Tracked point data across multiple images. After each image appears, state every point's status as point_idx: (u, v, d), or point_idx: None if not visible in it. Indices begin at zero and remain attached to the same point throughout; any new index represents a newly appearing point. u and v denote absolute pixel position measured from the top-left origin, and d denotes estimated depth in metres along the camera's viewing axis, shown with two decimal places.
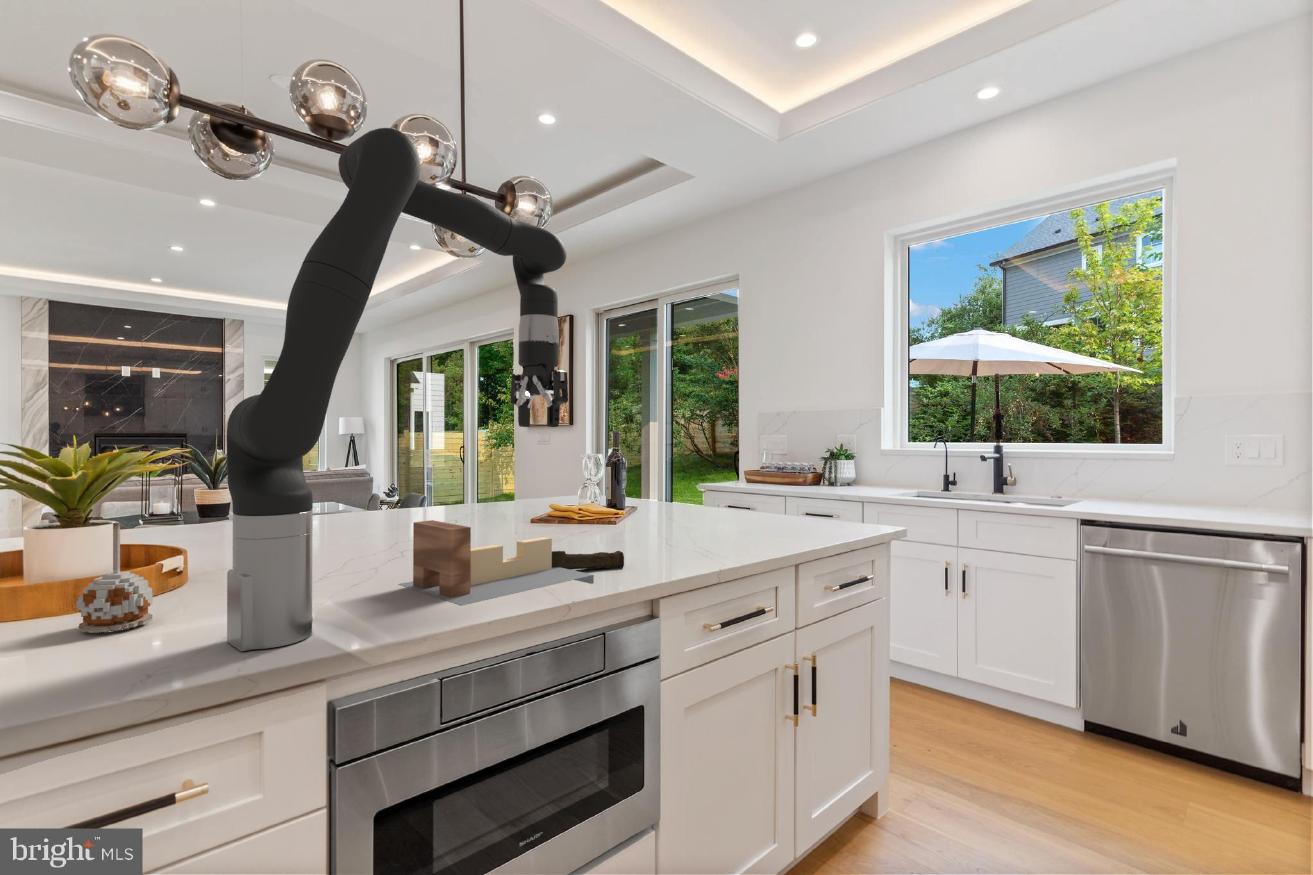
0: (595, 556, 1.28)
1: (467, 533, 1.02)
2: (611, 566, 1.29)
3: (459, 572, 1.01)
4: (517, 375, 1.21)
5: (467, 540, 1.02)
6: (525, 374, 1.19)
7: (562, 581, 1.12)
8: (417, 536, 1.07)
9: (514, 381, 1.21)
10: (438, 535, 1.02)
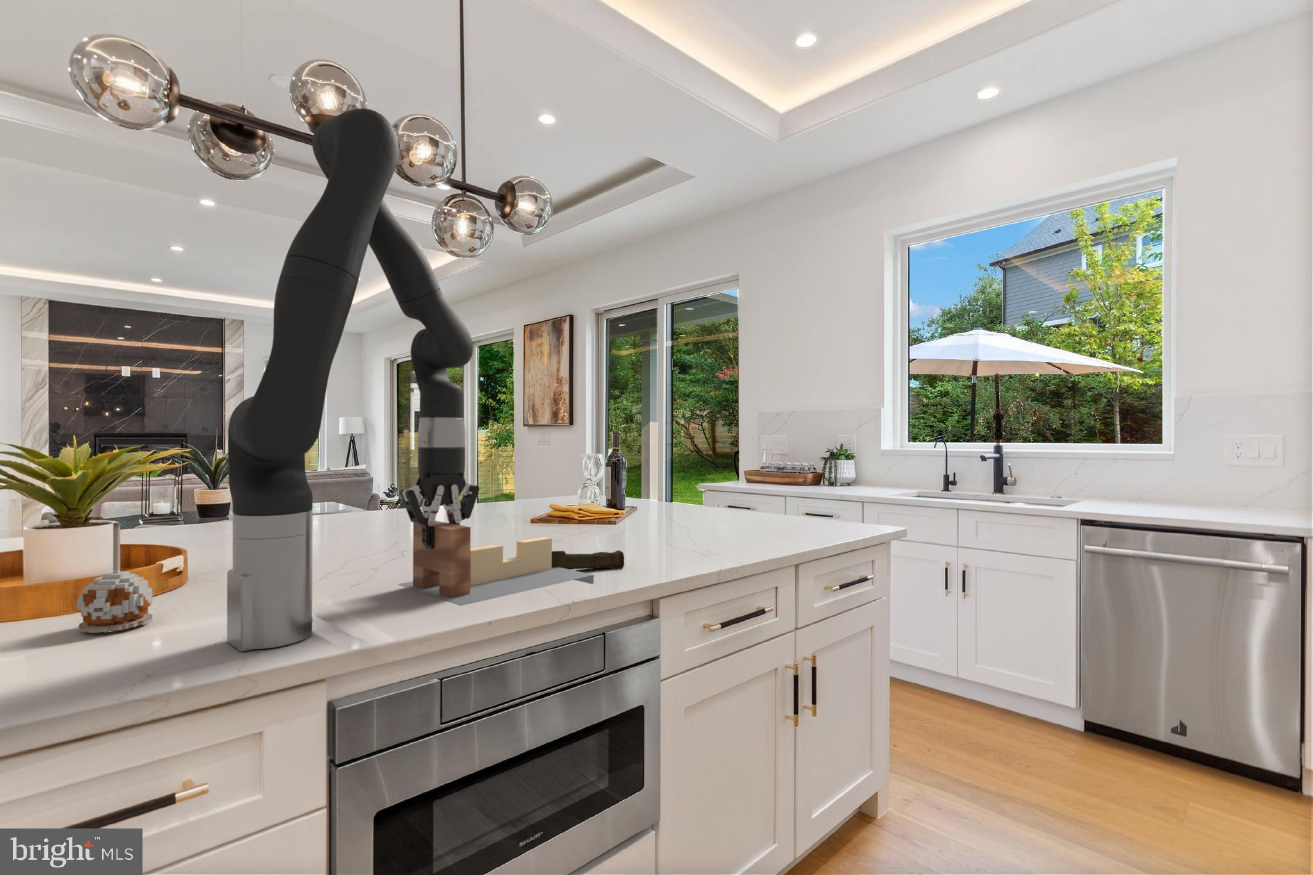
0: (595, 556, 1.28)
1: (467, 533, 1.02)
2: (611, 566, 1.29)
3: (459, 572, 1.01)
4: None
5: (467, 540, 1.02)
6: (429, 481, 1.02)
7: (562, 581, 1.12)
8: (417, 536, 1.07)
9: (415, 497, 1.00)
10: (438, 535, 1.02)
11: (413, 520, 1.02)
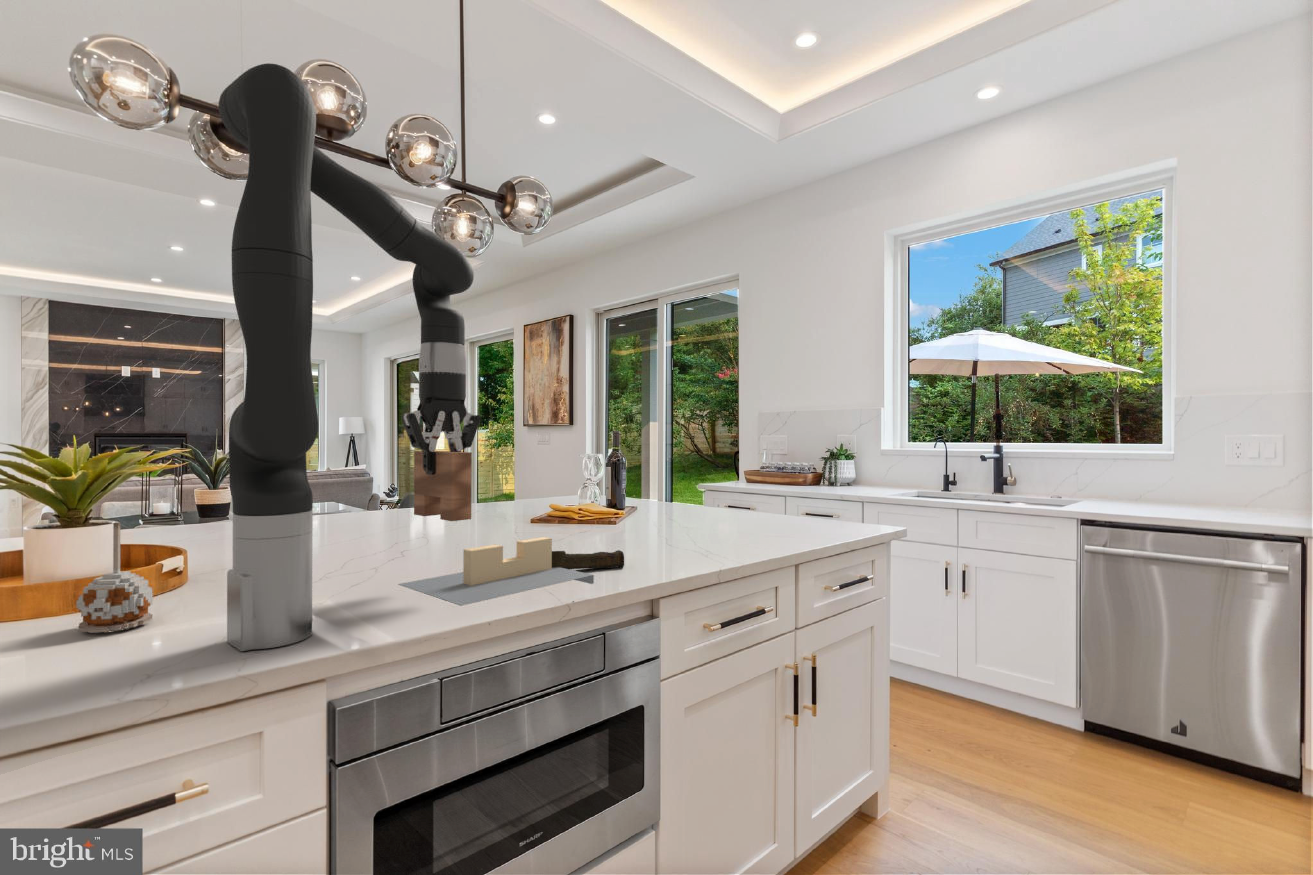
0: (595, 556, 1.28)
1: (468, 458, 1.02)
2: (611, 566, 1.29)
3: (460, 496, 1.01)
4: None
5: (468, 465, 1.02)
6: (430, 406, 1.02)
7: (562, 581, 1.12)
8: (418, 464, 1.07)
9: (416, 421, 1.00)
10: (439, 460, 1.02)
11: (414, 445, 1.02)
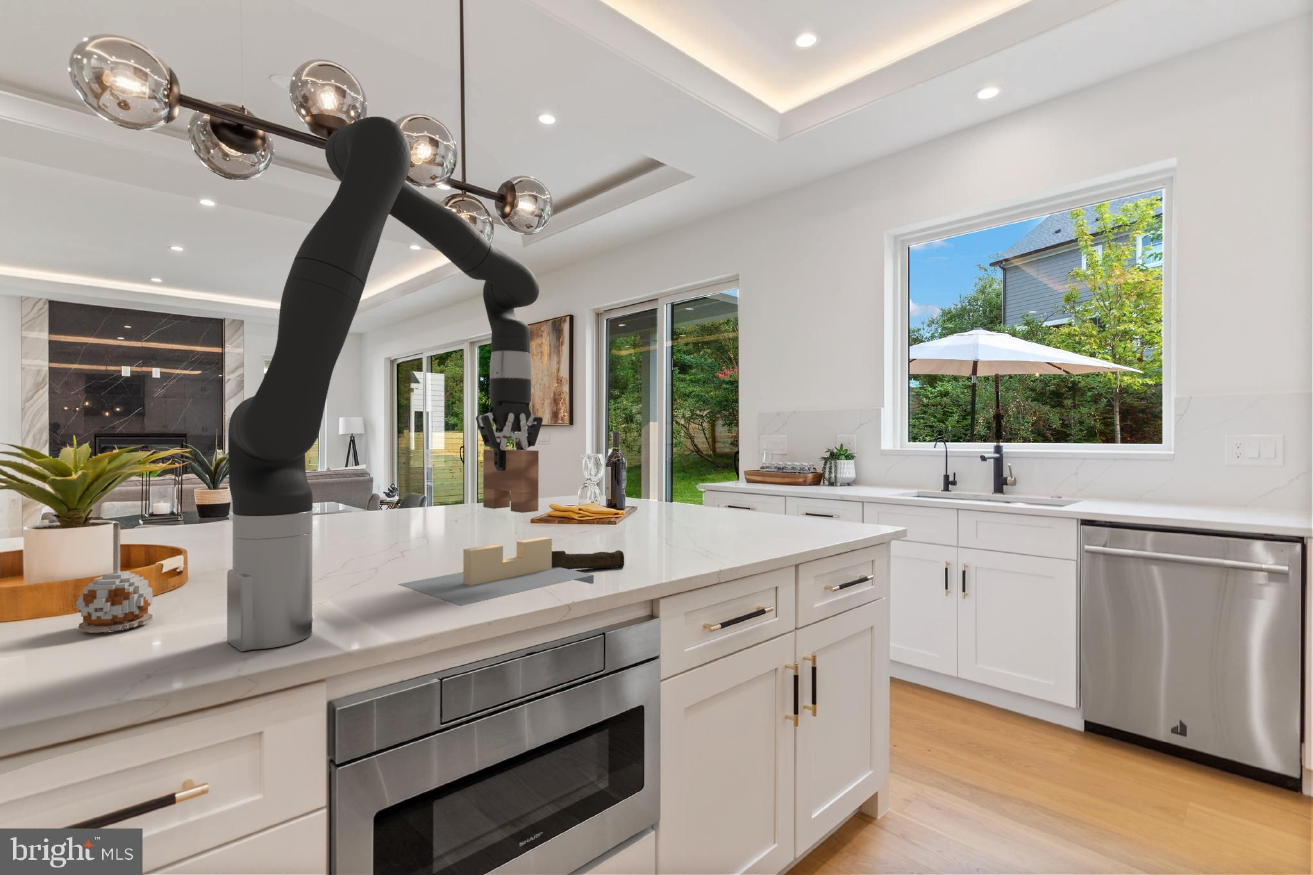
0: (595, 556, 1.28)
1: (536, 456, 1.13)
2: (611, 566, 1.29)
3: (529, 490, 1.12)
4: None
5: (535, 462, 1.13)
6: (501, 409, 1.13)
7: (562, 581, 1.12)
8: (487, 461, 1.17)
9: (489, 422, 1.11)
10: (509, 458, 1.13)
11: (487, 444, 1.12)
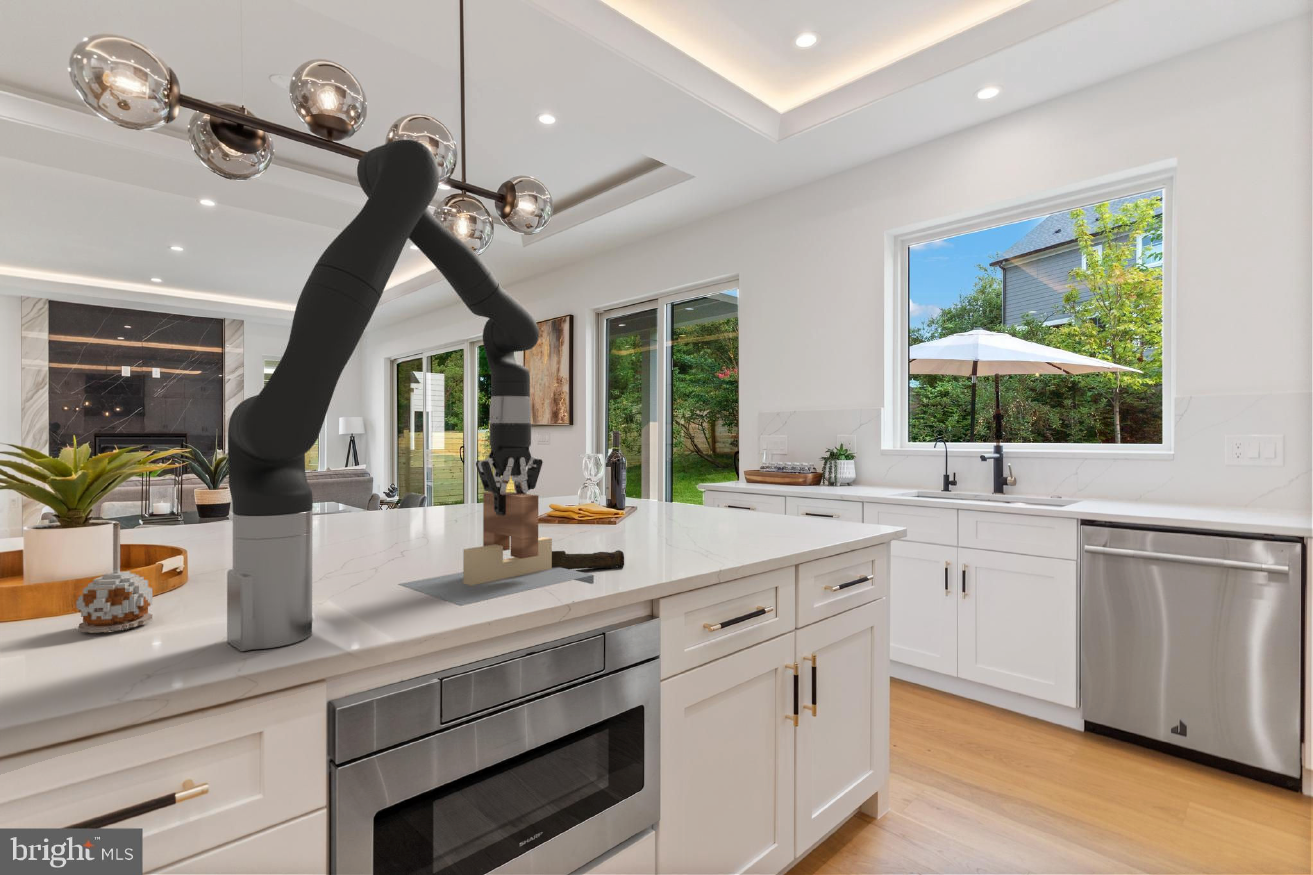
0: (595, 556, 1.28)
1: (536, 501, 1.13)
2: (611, 566, 1.29)
3: (529, 535, 1.12)
4: None
5: (535, 507, 1.13)
6: (501, 454, 1.13)
7: (562, 581, 1.12)
8: (487, 504, 1.17)
9: (489, 468, 1.11)
10: (509, 502, 1.13)
11: (487, 489, 1.12)
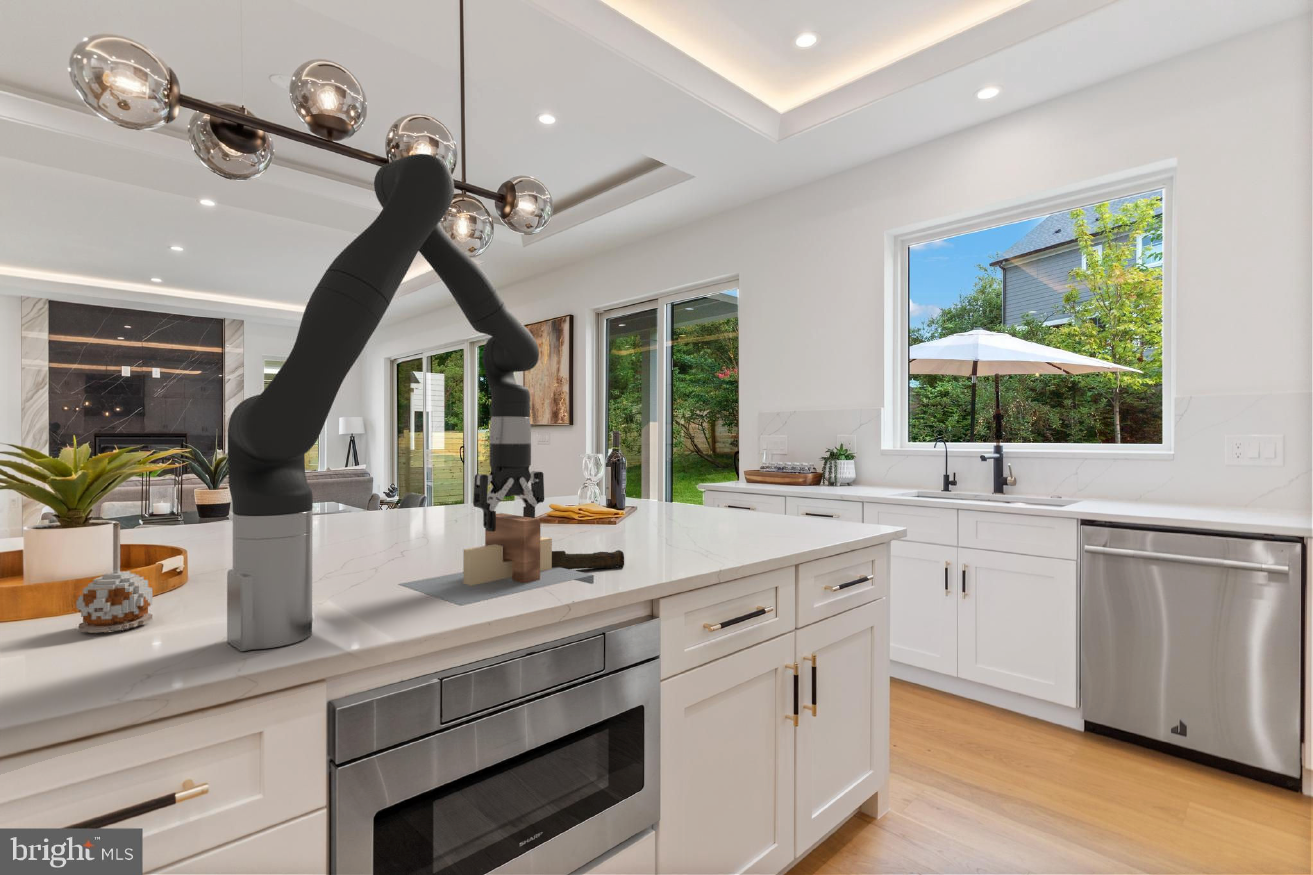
0: (595, 556, 1.28)
1: (538, 524, 1.12)
2: (611, 565, 1.29)
3: (531, 560, 1.11)
4: None
5: (537, 531, 1.12)
6: (502, 475, 1.13)
7: (562, 581, 1.12)
8: None
9: (486, 483, 1.10)
10: (511, 526, 1.13)
11: (476, 505, 1.11)
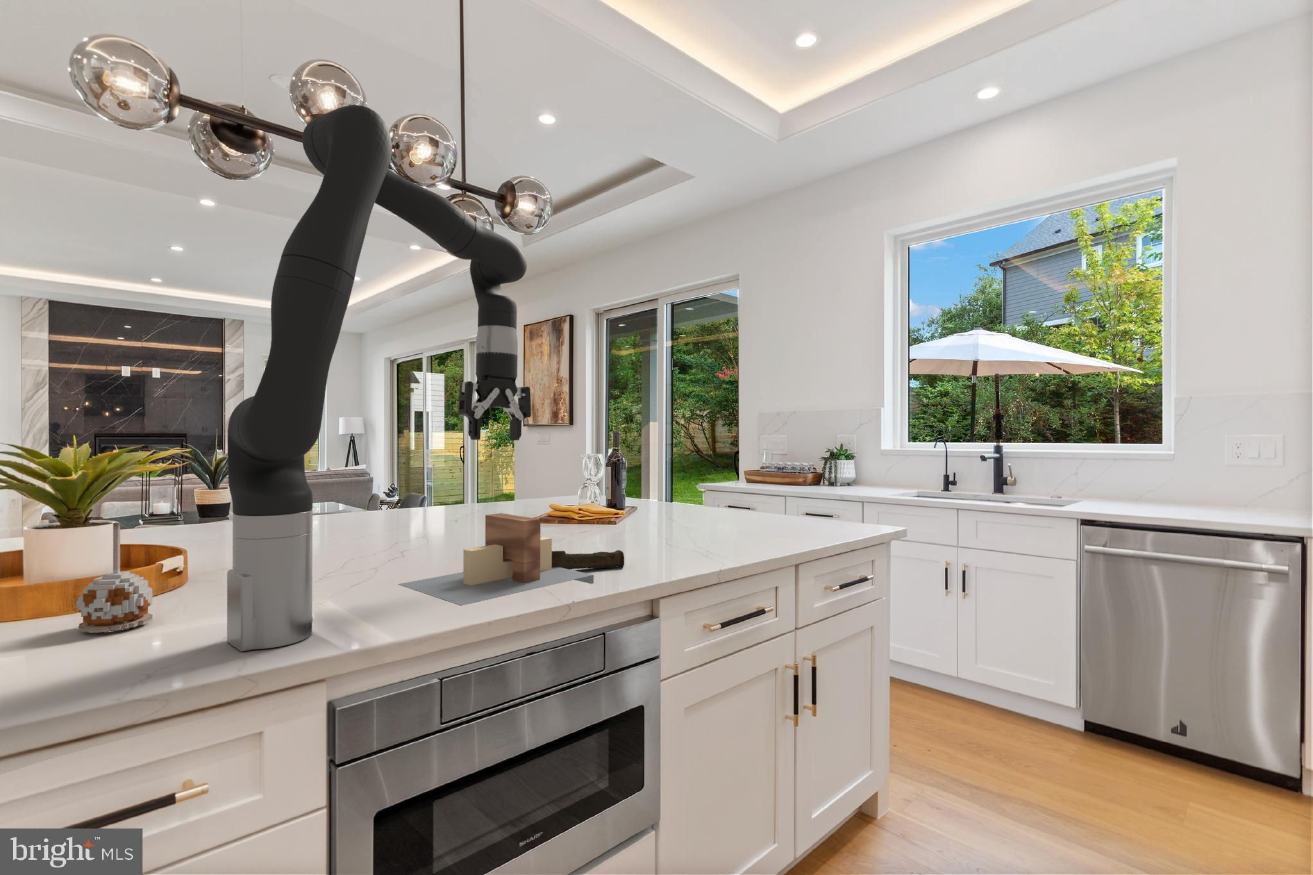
0: (595, 556, 1.28)
1: (538, 524, 1.12)
2: (611, 565, 1.29)
3: (531, 560, 1.11)
4: None
5: (537, 531, 1.12)
6: (487, 385, 1.13)
7: (562, 581, 1.12)
8: (489, 527, 1.17)
9: (471, 390, 1.11)
10: (511, 526, 1.13)
11: (461, 412, 1.11)
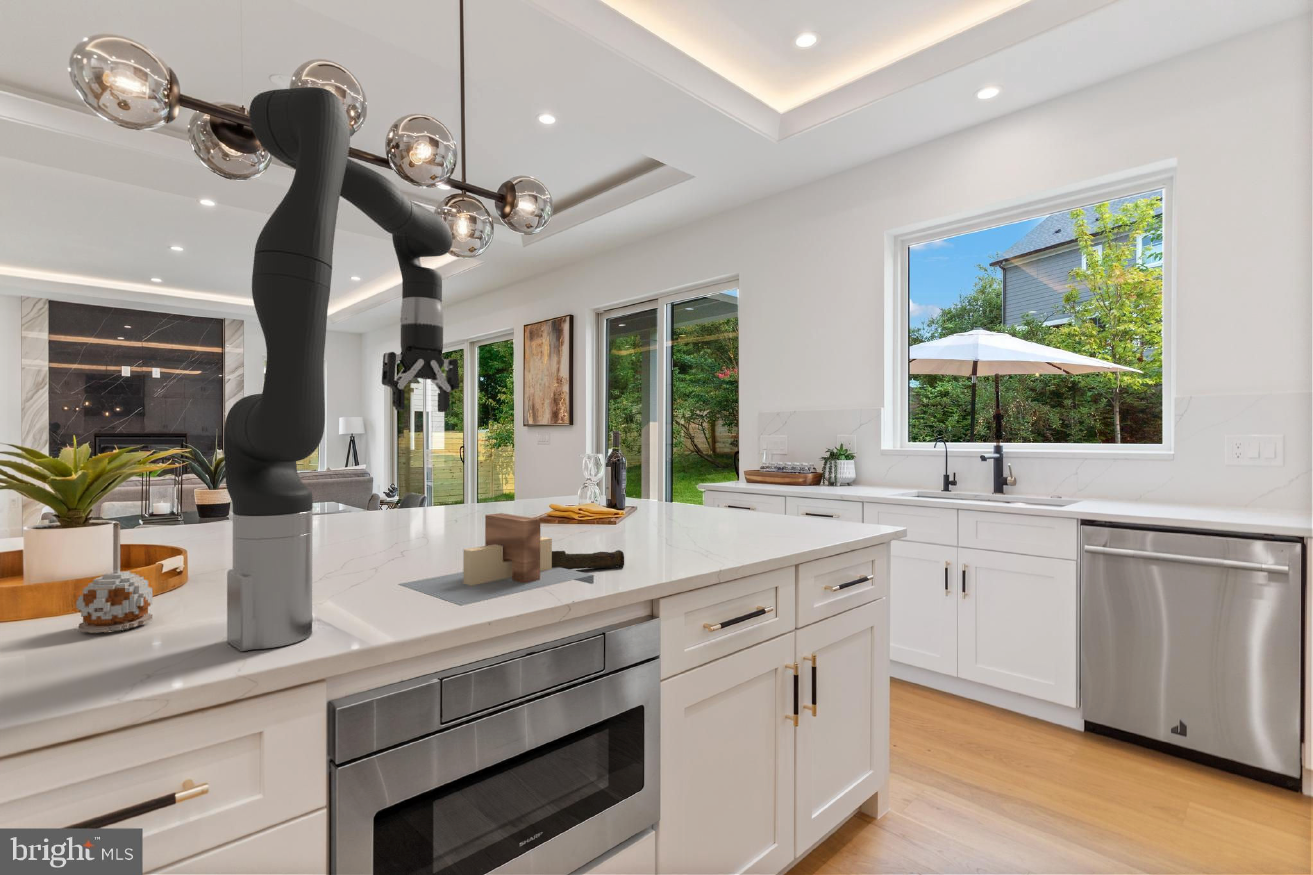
0: (595, 556, 1.28)
1: (538, 524, 1.12)
2: (611, 565, 1.29)
3: (531, 560, 1.11)
4: None
5: (537, 531, 1.12)
6: (412, 356, 1.14)
7: (562, 581, 1.12)
8: (489, 527, 1.17)
9: (394, 360, 1.12)
10: (511, 526, 1.13)
11: (384, 382, 1.12)
